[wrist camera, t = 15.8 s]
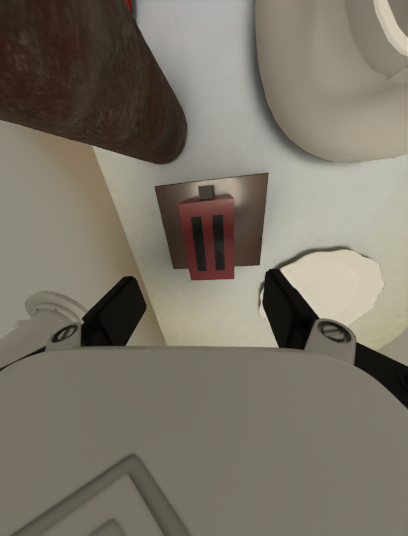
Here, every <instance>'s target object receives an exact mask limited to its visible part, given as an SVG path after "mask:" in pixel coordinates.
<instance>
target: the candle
mask: <svg viewBox="0 0 408 536" xmlns="http://www.w3.org/2000/svg"><path fill="white" fill-rule="evenodd" d="M0 120H3V121H7V122H11V123H15V124H19V125H22V126H25V127H29V128H32V129H35V130H39V131H43V132H46V133H49V134H53V135H56V136H60V137H63V138H67V139H70V140H75V141H78V142H82V143H86V144H89V145H93V146H97V147H100V148H103V149H106V150H109V151H113V152H116V153H119V154H123V155H126V156H130V157H133V158H136V159H140V160H143V161H147V162H151V163H155V164H165V163H168V162H170V161H172V160H174V159H175V158H176V157H177V156H178V154H179V153H180V152H181V150H182V149H183V146H184V143H185V139H186V131H187V123H186V119H185V115H184V112H183V110H182V108H181V106H180V104H179V102H178V100H177V98H176V96H175V94H174V92H173V90H172V88H171V87H170V85H169V83H168V81H167V79H166V78H165V76H164V74H163V72H162V70H161V68H160V67H159V65H158V63H157V61H156V59H155V58H154V56H153V54H152V52H151V50H150V48H149V47H148V45H147V43H146V42H145V40H144V38H143V36H142V34H141V32H140V30H139V28H138V26H137V24H136V22H135V20H134V18H133V16H132V15H131V13H130V11H129V9H128V7H127V5H126V3H125V2H124V0H0Z"/></svg>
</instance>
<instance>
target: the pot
mask: <svg viewBox="0 0 408 536" xmlns="http://www.w3.org/2000/svg"><path fill="white" fill-rule="evenodd" d="M255 30H256V43H257V55H258V65H259V70H260V75H261V79H262V83H263V88H264V92H265V96H266V100H267V103H268V105H269V107H270V109H271V111H272V114H273V116H274V118H275V120H276V122H277V124H278V125H279V126H280V128H281V129H282V130H283V132H284V133H285V134H286V136H287V137H288V138H289V139H290V140H291V141H293V142H294V143H295V144H297V145H298V146H299V147H300V148H302V149H303V150H305V151H306V152H308V153H310V154H312V155H315V156H318V157H320V158H323V159H325V160H328V161H337V162H346V163H353V162H362V161H371V160H379V159H388V158H396V157H399V156H402V155H406V154H408V0H256V1H255Z"/></svg>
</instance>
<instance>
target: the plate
mask: <svg viewBox="0 0 408 536" xmlns="http://www.w3.org/2000/svg"><path fill="white" fill-rule="evenodd" d="M279 270H280V271H281V272H282V273H283V275H284V276H285V277H286V279H287V280H288V281H289V282H290V284H291V285H292V286H293V288H296V289H297V290H298V292H299V293H300V294H301V295H302V297H303V298H304V299H305V300H306V302H307V303H308V304H309V305H310V307H311V308H312V309H313V310H314V312H315V313H316V314H317V315H318V317H319V318H320V319H322V318H326V319H331V320H335V321H337V322H339V323H342V324H343V325H345V326H348V325H350V324H351V323H353V322H354V321H355V320H356V319H357V318H359V317H360V316H362V315H364V314H365V313H367V312H368V311H369V310H370V309H371V308H372V307H373V306H374V304H375V302H376V299H377V297H378V296H379V294H380V293H381V292H382V290H383V288H384V280H383V279H382V277H381V275H380V265H379V264H378V263H377V262H376V261H375V260H373V259H369V258H366V257H363V256H362V255H360V254H359V253H357V252H356V251H353V250H346V249H342V250H337V251H331V252H319V251H317V252H314V253H310V254H307V255H305V256H303V257H301V258H300V259H298V260H297V261H295V262H293V263H291V264H288V265H286V266H283V267H282V268H280V269H279ZM263 292H264V288H263V289H262V291H261V294H260V299H261V304H260V308H259V310H260V314H261V316H262V317H263V318H265V319H266V320H267V322H268V324H269V321H268V318H267V316H266V313H265V311H264V308H263V305H262V300H263ZM269 326H270V324H269Z"/></svg>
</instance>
